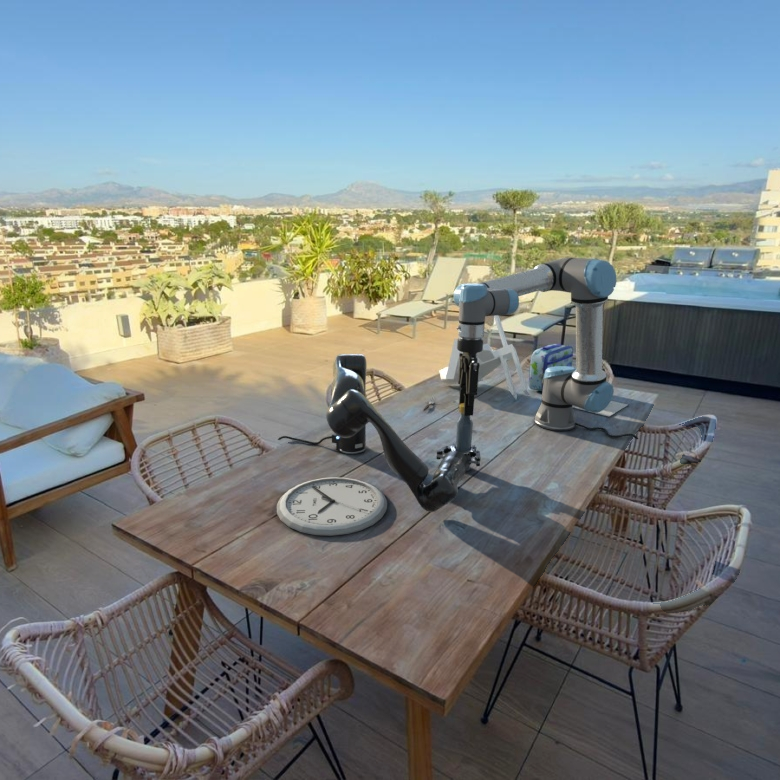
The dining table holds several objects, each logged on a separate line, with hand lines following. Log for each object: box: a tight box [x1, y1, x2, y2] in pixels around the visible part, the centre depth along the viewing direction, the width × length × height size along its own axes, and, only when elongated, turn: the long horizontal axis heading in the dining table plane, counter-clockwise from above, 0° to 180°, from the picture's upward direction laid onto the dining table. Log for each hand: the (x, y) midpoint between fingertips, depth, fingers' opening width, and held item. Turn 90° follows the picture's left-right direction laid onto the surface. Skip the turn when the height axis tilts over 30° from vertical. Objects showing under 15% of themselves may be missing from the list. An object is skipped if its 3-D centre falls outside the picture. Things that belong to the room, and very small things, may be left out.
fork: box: [422, 395, 437, 412], centre depth 223 cm, size 3×16×2 cm, turn 160°
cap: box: [458, 403, 464, 414], centre depth 160 cm, size 4×4×2 cm
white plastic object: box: [438, 315, 531, 400], centre depth 245 cm, size 37×45×31 cm
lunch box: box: [528, 343, 574, 392], centre depth 248 cm, size 26×11×21 cm, turn 134°
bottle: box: [455, 413, 474, 472], centre depth 163 cm, size 5×5×20 cm
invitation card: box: [573, 400, 629, 418], centre depth 226 cm, size 21×1×15 cm
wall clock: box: [276, 476, 388, 537], centre depth 142 cm, size 30×2×30 cm
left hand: (465, 446), depth 167 cm, fingers closed on bottle, 4 cm apart
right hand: (465, 411), depth 161 cm, fingers open, 5 cm apart
